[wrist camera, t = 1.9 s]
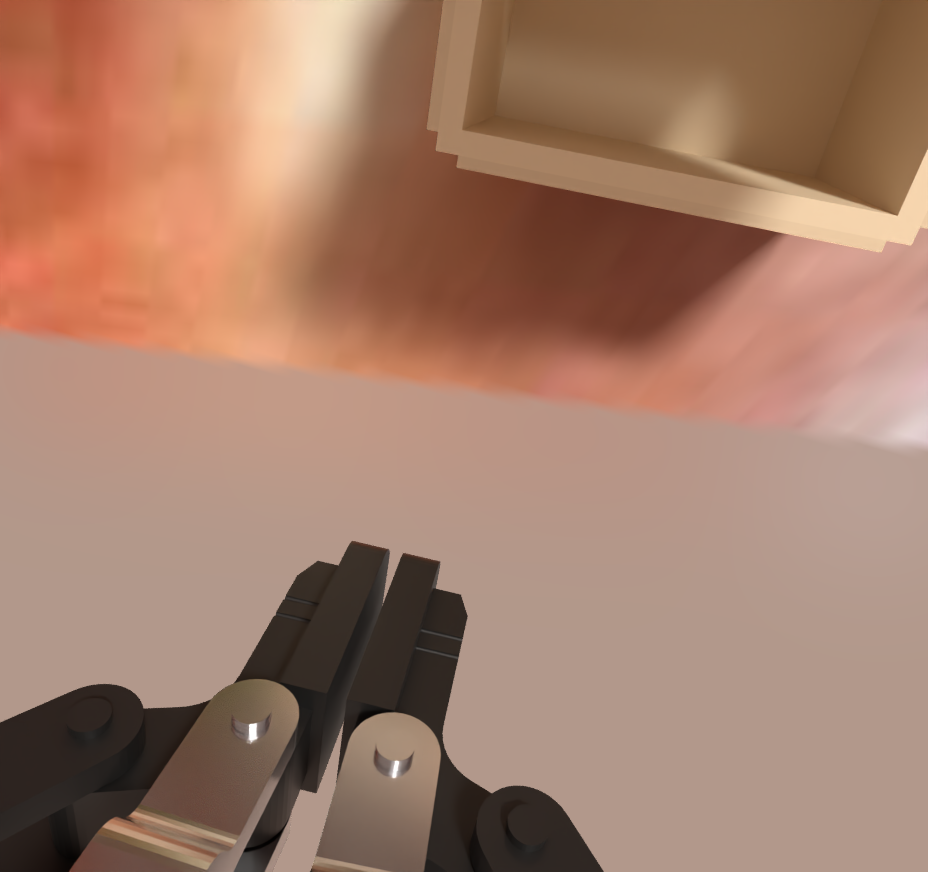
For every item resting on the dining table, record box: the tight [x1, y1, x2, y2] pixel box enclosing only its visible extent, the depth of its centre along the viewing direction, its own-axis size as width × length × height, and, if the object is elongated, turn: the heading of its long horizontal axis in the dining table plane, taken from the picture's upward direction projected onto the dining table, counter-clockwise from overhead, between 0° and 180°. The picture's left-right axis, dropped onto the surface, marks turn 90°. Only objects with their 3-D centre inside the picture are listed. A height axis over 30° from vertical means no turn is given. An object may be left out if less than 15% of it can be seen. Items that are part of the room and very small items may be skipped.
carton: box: [426, 0, 928, 253], centre depth 25 cm, size 17×12×10 cm
